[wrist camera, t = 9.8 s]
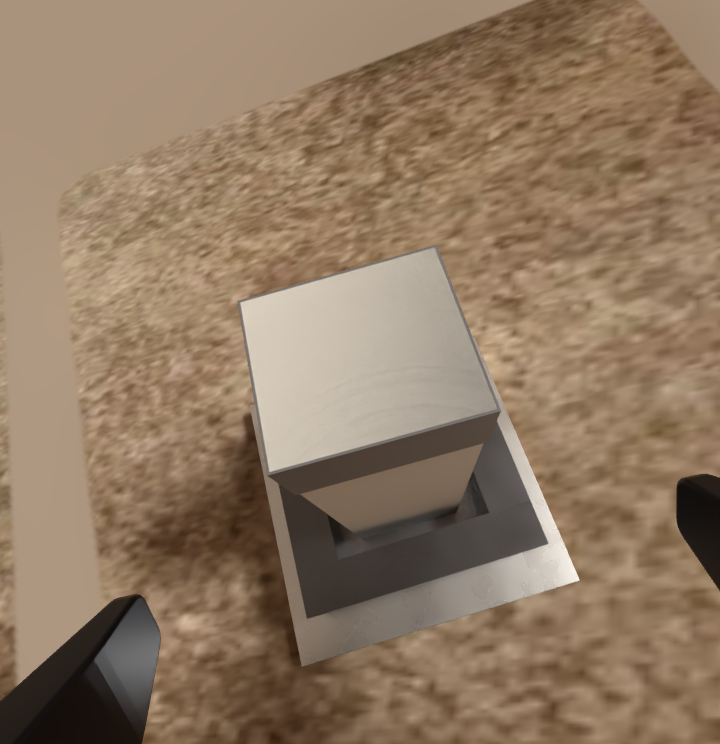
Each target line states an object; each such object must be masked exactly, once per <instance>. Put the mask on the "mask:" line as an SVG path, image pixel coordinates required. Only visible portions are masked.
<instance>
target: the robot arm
mask: <svg viewBox="0 0 720 744" xmlns="http://www.w3.org/2000/svg"><path fill="white" fill-rule="evenodd" d="M676 519H677V525H678V528H679V530H680V532H681V534H682V536H683V538H684V539H685V541H686V542H687V543H688V545H689V546H690V548H691V549H692V551H693V552H694V554H695V555H696V557H697V558H698V560H699V561H700V563H701V564H702V566H703V567H704V568H705V570H706V571H707V573H708V574H709V576H710V577H711V579H712V580H713V582H714V583H715V585H716V586H717V588H718V589H719V590H720V478H719V477H716V476H713V475H709V474H699V475H694V476H689V477H685V478H682V479H680V480H679V481H678V483H677V501H676ZM160 640H161V637H160V631H159V628H158V625H157V623H156V621H155V619H154V617H153V615H152V613H151V611H150V609H149V607H148V605H147V603H146V601H145V599H144V598H143V597H142V596H141V595H138V594H134V595H129V596H124V597H119V598H116V599H114V600H113V601H111V602H110V603H109V604H108V605H107V606H106V607H105V608H104V609H102V610H101V611H100V612H99V613H98V614H97V615H96V616H95V617H94V618H92V619H91V620H90V621H89V622H88V623H87V624H86V625H85V626H83V627H82V628H81V629H80V630H79V631H78V632H77V633H76V634H75V635H73V636H72V637H71V638H70V639H69V640H68V641H67V642H66V643H65V644H63V645H62V646H61V647H60V648H59V649H58V650H57V651H56V652H54V653H53V654H52V655H51V656H50V657H49V658H48V659H47V660H46V661H45V662H43V663H42V664H41V665H40V666H39V667H38V668H37V669H36V670H34V671H33V672H32V673H31V674H30V675H29V676H28V677H27V678H26V679H24V680H23V681H22V682H21V683H20V684H19V685H18V686H17V687H15V688H14V689H13V690H12V691H11V692H10V693H9V694H8V695H7V696H5V697H4V698H3V699H2V700H1V701H0V744H142V741H143V736H144V731H145V726H146V721H147V715H148V710H149V704H150V699H151V693H152V688H153V682H154V676H155V671H156V665H157V660H158V654H159V649H160Z"/></svg>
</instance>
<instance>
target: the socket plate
mask: <svg viewBox="0 0 720 744" xmlns="http://www.w3.org/2000/svg"><path fill="white" fill-rule="evenodd" d="M472 338H473V340H474V343H475V345H476V348H477V350H478V353H479V355H480V358H481V361H482V363H483V366H484V368H485V371H486V373H487V376H488V379H489V381H490V384H491V386H492V389H493V391H494V394H495V396H496V399H497V402H498V404H499V407H500V409H501V412H500V415H499V417H498V419H497V422H496V424H495V427H494V429H493V431H492V434H491V436H490V438H489V441H488V442H487V443H484V444H483V446H482V449H481V451H480V454H479V456H478V459H477V462H476V464H475V467H474V469H473V472H472V474H471V477H470V479H469V482H468V484H467V487H466V489H465V492H464V495H463V497H462V500H461V502H460V505H459V507H458V510H457V512H456V513H453V514H450V515H446V516H442V517H439V518H435V519H431V520H428V521H424V522H421V523H417V524H413V525H410V526H406V527H402V528H399V529H395V530H391V531H388V532H384V533H380V534H377V535H373V536H370V537H366V538H362V539H361V538H360V537H358V536H357V535H356V534H354V533H353V532H352V531H350V530H349V529H347V528H346V527H345V526H343V525H342V524H341V523H339V522H338V521H336V520H335V519H334V518H332V517H331V516H329V515H328V514H327V513H325V512H324V511H323V510H321V509H320V508H318V507H317V506H316V505H314V504H313V503H311V502H310V501H309V500H307V499H306V498H305V497H303V496H302V495H300V494H299V495H294V494H293V493H291V492H290V491H288V490H287V489H286V488H284V487H283V486H281V485H280V484H278V483H277V482H275V481H274V480H273V479H271V478H270V477H268V476H267V473H266V467H265V461H264V455H263V449H262V443H261V437H260V431H259V425H258V419H257V413H256V408H255V404H252V405H250V410H251V415H252V420H253V425H254V430H255V435H256V440H257V445H258V450H259V455H260V460H261V465H262V470H263V475H264V480H265V485H266V490H267V495H268V500H269V505H270V510H271V515H272V520H273V525H274V530H275V535H276V540H277V545H278V550H279V555H280V560H281V565H282V570H283V575H284V580H285V585H286V590H287V595H288V600H289V605H290V610H291V615H292V620H293V625H294V630H295V635H296V640H297V645H298V650H299V655H300V660H301V665H302V666H305V665H309V664H312V663H315V662H318V661H322V660H325V659H328V658H331V657H334V656H338V655H341V654H344V653H347V652H351V651H354V650H357V649H360V648H363V647H367V646H370V645H373V644H376V643H380V642H383V641H386V640H389V639H392V638H396V637H399V636H402V635H405V634H408V633H412V632H415V631H418V630H421V629H425V628H428V627H431V626H434V625H437V624H441V623H444V622H447V621H450V620H454V619H457V618H460V617H463V616H466V615H470V614H473V613H476V612H479V611H483V610H486V609H489V608H492V607H495V606H499V605H502V604H505V603H508V602H512V601H515V600H518V599H521V598H524V597H528V596H531V595H534V594H537V593H540V592H544V591H547V590H550V589H553V588H557V587H560V586H563V585H566V584H569V583H573V582H576V581H579V578H578V575H577V573H576V571H575V568H574V566H573V564H572V561H571V559H570V557H569V555H568V552H567V550H566V548H565V545H564V543H563V541H562V538H561V536H560V534H559V531H558V529H557V527H556V525H555V522H554V520H553V518H552V515H551V513H550V511H549V508H548V506H547V504H546V501H545V499H544V497H543V495H542V492H541V490H540V488H539V485H538V483H537V481H536V478H535V476H534V474H533V471H532V469H531V467H530V464H529V462H528V460H527V458H526V455H525V453H524V451H523V448H522V446H521V444H520V441H519V439H518V437H517V434H516V432H515V430H514V428H513V425H512V423H511V421H510V418H509V416H508V414H507V411H506V409H505V407H504V404H503V402H502V400H501V397H500V395H499V393H498V391H497V388H496V386H495V384H494V381H493V379H492V377H491V374H490V372H489V370H488V367H487V365H486V363H485V361H484V358H483V356H482V354H481V351H480V349H479V347H478V344H477V342H476V340H475V337H474V336H472Z"/></svg>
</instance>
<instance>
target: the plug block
mask: <svg viewBox="0 0 720 744" xmlns="http://www.w3.org/2000/svg"><path fill="white" fill-rule="evenodd" d="M238 307H239V313H240V319H241V325H242V331H243V337H244V343H245V349H246V354H247V360H248V366H249V372H250V378H251V384H252V390H253V396H254V402H255V408H256V413H257V419H258V425H259V431H260V437H261V443H262V449H263V455H264V461H265V467H266V473H267V476H268V477H270V478H271V479H273V480H274V481H275V482H277V483H278V484H280V485H281V486H283V487H284V488H286V489H287V490H288V491H290V492H291V493H293V494H294V495H299V494H300V495H302V496H303V497H305V498H306V499H307V500H309V501H310V502H311V503H313V504H314V505H316V506H317V507H318V508H320V509H321V510H323V511H324V512H325V513H327V514H328V515H329V516H331V517H332V518H334V519H335V520H336V521H338V522H339V523H341V524H342V525H343V526H345V527H346V528H347V529H349V530H350V531H352V532H353V533H354V534H356V535H357V536H358V537H360V538H361V539H362V538H366V537H370V536H373V535H377V534H380V533H384V532H388V531H391V530H395V529H399V528H402V527H406V526H410V525H413V524H417V523H421V522H424V521H428V520H431V519H435V518H439V517H442V516H446V515H450V514H453V513H456V512H457V510H458V507H459V505H460V502H461V500H462V497H463V495H464V492H465V489H466V487H467V484H468V482H469V479H470V477H471V474H472V472H473V469H474V467H475V464H476V462H477V459H478V456H479V454H480V451H481V449H482V446H483V444H484V443H487V442H488V441H489V438H490V436H491V434H492V431H493V429H494V427H495V424H496V422H497V419H498V417H499V415H500V412H501V409H500V407H499V404H498V402H497V399H496V396H495V394H494V391H493V389H492V386H491V384H490V381H489V379H488V376H487V373H486V371H485V368H484V366H483V363H482V361H481V358H480V355H479V353H478V350H477V348H476V345H475V343H474V340H473V338H472V335H471V332H470V330H469V327H468V325H467V322H466V320H465V317H464V314H463V312H462V309H461V307H460V304H459V302H458V299H457V296H456V294H455V291H454V289H453V286H452V284H451V281H450V279H449V276H448V273H447V271H446V268H445V266H444V263H443V261H442V258H441V255H440V253H439V250H438V248H437V245H434V246H431V247H427V248H424V249H420V250H416V251H413V252H409V253H406V254H402V255H399V256H395V257H392V258H388V259H385V260H381V261H378V262H374V263H370V264H367V265H363V266H360V267H356V268H353V269H349V270H346V271H342V272H339V273H335V274H332V275H328V276H324V277H321V278H317V279H314V280H310V281H307V282H303V283H300V284H296V285H293V286H289V287H286V288H282V289H278V290H275V291H271V292H268V293H264V294H261V295H257V296H254V297H250V298H247V299H243V300H240V301H238Z"/></svg>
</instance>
